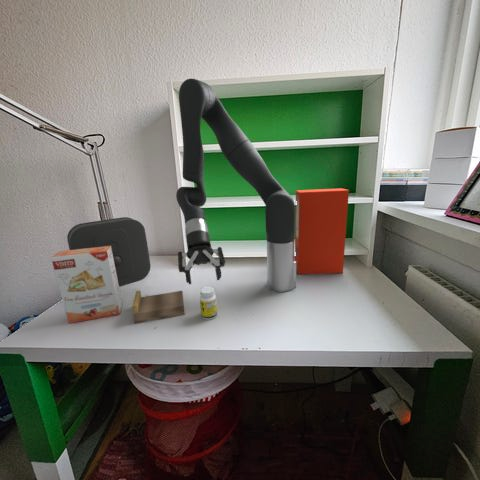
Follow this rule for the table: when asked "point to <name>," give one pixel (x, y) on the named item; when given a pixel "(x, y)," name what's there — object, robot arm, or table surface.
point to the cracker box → (88, 283)
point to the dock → (157, 306)
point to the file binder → (320, 230)
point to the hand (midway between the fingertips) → (204, 281)
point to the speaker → (116, 245)
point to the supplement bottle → (208, 303)
